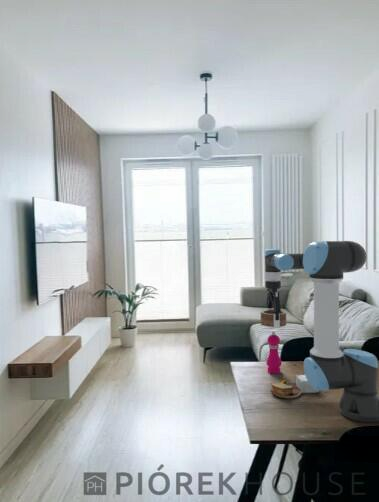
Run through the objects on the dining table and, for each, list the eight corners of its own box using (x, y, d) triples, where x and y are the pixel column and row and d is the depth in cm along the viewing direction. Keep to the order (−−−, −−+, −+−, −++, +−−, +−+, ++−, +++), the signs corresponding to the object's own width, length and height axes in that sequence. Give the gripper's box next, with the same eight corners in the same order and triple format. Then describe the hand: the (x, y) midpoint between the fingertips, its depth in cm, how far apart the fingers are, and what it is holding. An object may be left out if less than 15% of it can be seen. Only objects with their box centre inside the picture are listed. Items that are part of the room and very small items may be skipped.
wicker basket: (288, 326, 178) (288, 314, 178) (264, 327, 178) (263, 314, 178) (282, 321, 190) (281, 309, 190) (258, 321, 190) (258, 310, 190)
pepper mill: (277, 375, 180) (277, 334, 179) (264, 372, 184) (263, 332, 183) (283, 371, 185) (283, 331, 185) (270, 368, 190) (269, 329, 189)
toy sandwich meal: (307, 395, 156) (307, 384, 156) (282, 402, 150) (282, 390, 150) (287, 385, 167) (287, 375, 167) (263, 391, 161) (263, 380, 161)
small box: (319, 392, 159) (319, 381, 159) (301, 393, 159) (300, 381, 159) (313, 385, 167) (313, 374, 166) (295, 386, 167) (295, 374, 166)
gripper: (287, 283, 171) (287, 329, 172) (274, 277, 196) (274, 318, 196) (271, 283, 171) (271, 329, 172) (260, 278, 195) (260, 318, 196)
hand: (273, 323), depth 184 cm, fingers closed on wicker basket, 12 cm apart
